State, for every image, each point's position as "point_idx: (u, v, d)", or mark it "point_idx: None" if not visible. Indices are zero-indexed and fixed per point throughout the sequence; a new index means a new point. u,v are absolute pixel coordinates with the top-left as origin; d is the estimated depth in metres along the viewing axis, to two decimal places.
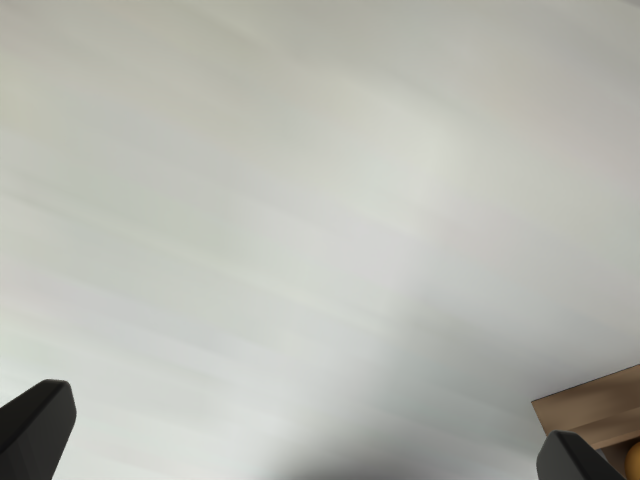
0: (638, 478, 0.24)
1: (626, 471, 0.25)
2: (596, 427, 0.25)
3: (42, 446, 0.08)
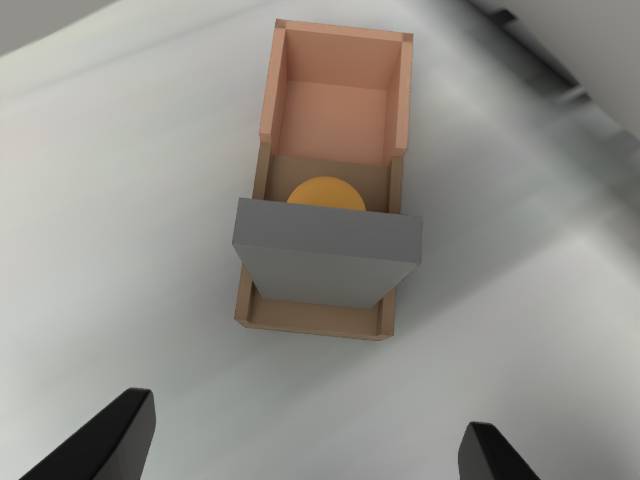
0: None
1: None
2: None
3: (133, 455, 0.08)
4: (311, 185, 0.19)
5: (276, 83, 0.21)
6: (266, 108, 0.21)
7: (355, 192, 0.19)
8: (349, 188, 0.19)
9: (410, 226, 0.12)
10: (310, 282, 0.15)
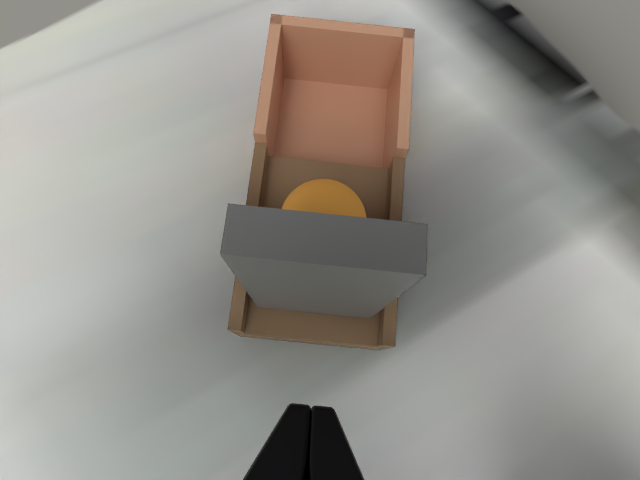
0: None
1: None
2: None
3: None
4: (308, 188, 0.18)
5: (271, 81, 0.20)
6: (261, 107, 0.20)
7: (354, 195, 0.18)
8: (348, 191, 0.18)
9: (414, 234, 0.11)
10: (307, 292, 0.14)
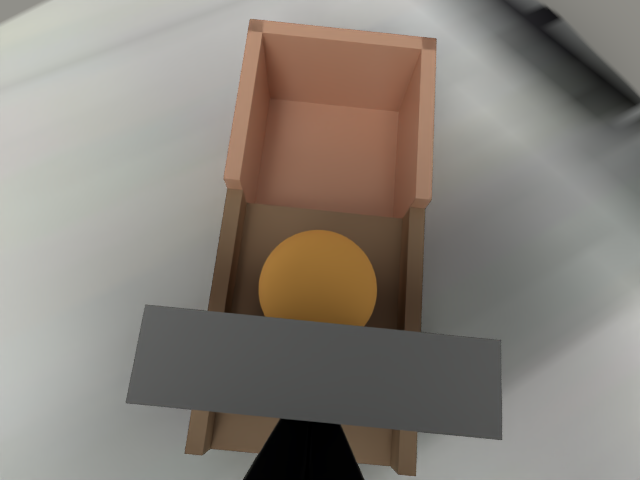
0: None
1: None
2: None
3: None
4: (298, 239, 0.13)
5: (248, 107, 0.15)
6: (234, 143, 0.15)
7: (360, 250, 0.13)
8: (352, 244, 0.13)
9: (479, 360, 0.06)
10: None
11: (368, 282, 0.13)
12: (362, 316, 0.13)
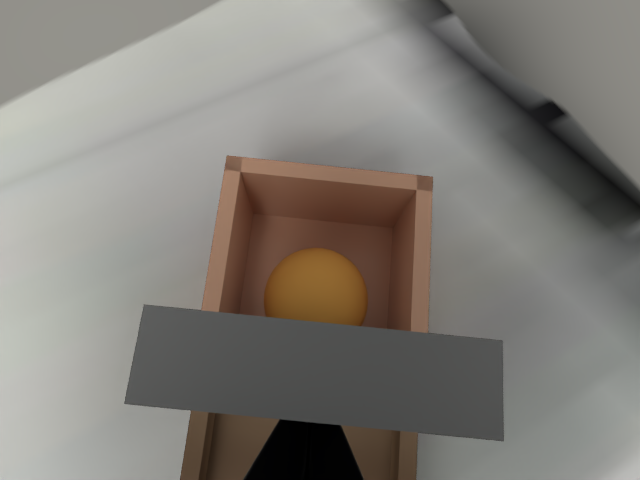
0: None
1: None
2: None
3: None
4: None
5: (223, 263, 0.14)
6: (207, 308, 0.13)
7: None
8: None
9: (480, 360, 0.06)
10: None
11: None
12: None
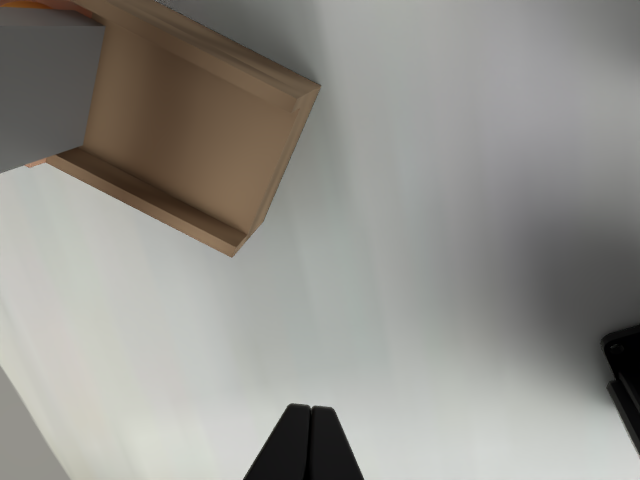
0: None
1: None
2: None
3: None
4: None
5: None
6: None
7: None
8: None
9: None
10: None
11: None
12: None
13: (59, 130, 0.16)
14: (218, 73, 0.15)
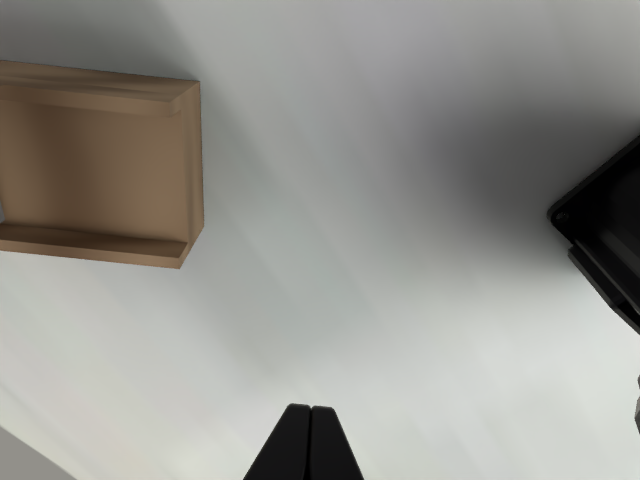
0: None
1: None
2: None
3: None
4: None
5: None
6: None
7: None
8: None
9: None
10: None
11: None
12: None
13: None
14: (90, 106, 0.15)
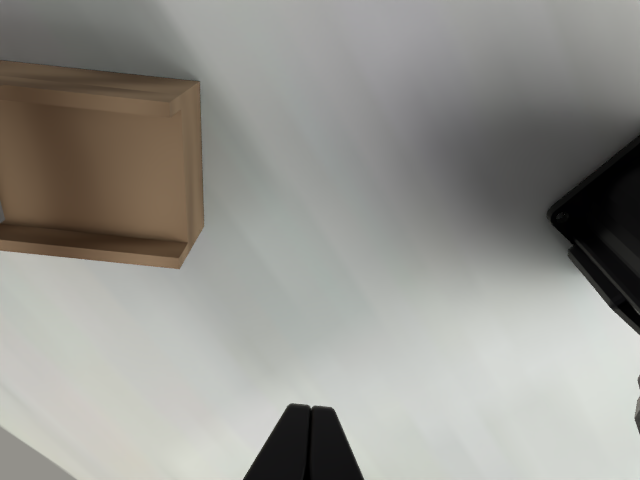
0: None
1: None
2: None
3: None
4: None
5: None
6: None
7: None
8: None
9: None
10: None
11: None
12: None
13: None
14: (90, 106, 0.15)
